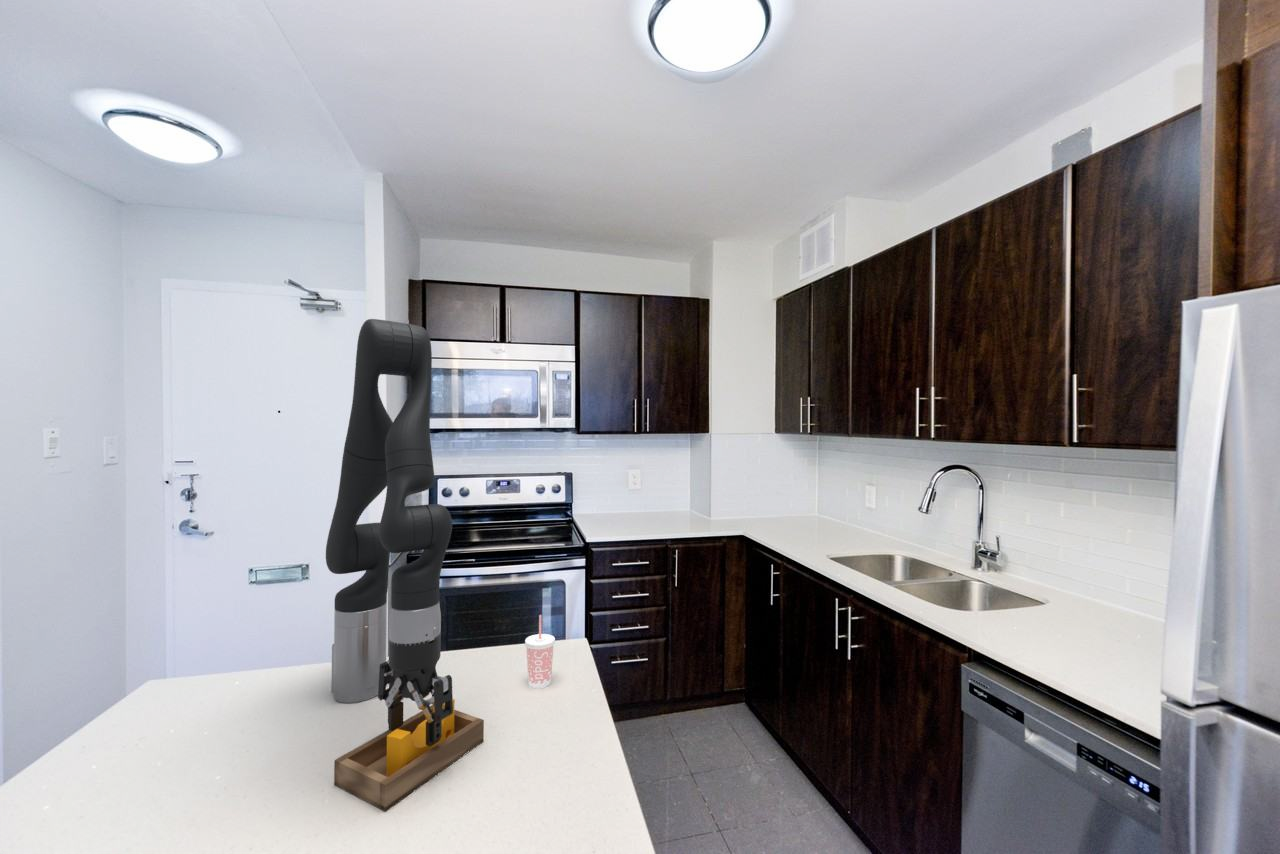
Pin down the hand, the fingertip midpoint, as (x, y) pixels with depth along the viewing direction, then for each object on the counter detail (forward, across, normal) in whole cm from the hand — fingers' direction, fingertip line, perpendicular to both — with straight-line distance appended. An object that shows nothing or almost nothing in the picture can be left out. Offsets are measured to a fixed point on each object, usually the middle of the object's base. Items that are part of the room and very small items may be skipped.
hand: (414, 735), depth 82 cm
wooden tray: (+4, 0, 0) cm, 4 cm away
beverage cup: (+4, +1, +30) cm, 30 cm away
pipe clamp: (+4, 0, +1) cm, 4 cm away
